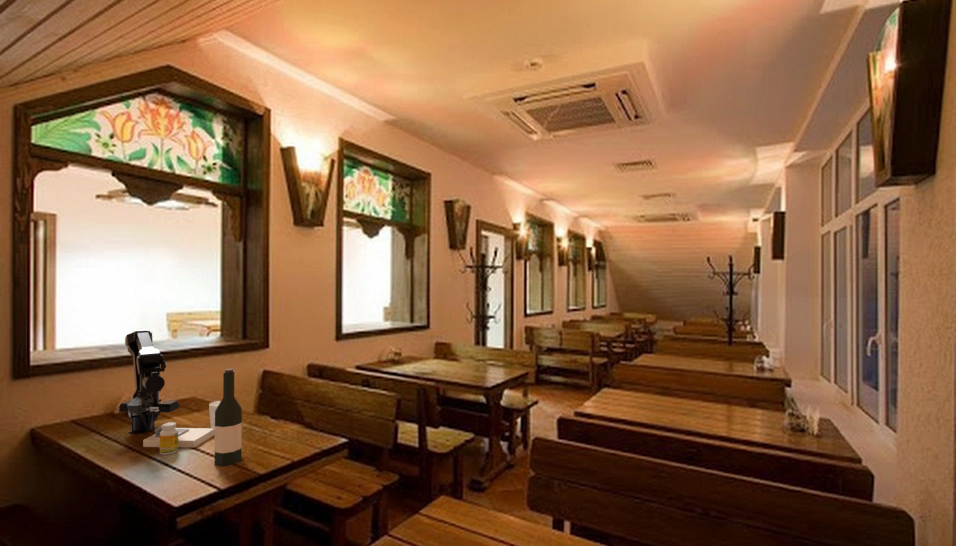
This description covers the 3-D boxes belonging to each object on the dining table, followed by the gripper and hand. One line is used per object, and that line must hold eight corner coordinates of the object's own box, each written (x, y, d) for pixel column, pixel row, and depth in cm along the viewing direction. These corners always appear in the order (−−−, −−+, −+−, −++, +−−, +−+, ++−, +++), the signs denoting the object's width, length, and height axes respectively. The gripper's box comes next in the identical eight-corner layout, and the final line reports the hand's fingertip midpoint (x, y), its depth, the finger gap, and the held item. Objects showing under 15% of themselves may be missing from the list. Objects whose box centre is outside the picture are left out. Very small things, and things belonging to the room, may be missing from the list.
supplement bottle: (160, 450, 164) (161, 422, 164) (179, 448, 166) (179, 420, 166) (158, 456, 159) (158, 427, 159) (177, 453, 162) (177, 425, 162)
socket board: (143, 446, 167) (143, 439, 167) (167, 434, 180) (167, 427, 180) (194, 447, 167) (194, 440, 167) (214, 434, 180) (215, 428, 180)
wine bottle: (220, 456, 159) (221, 366, 159) (246, 456, 160) (247, 366, 160) (208, 466, 151) (209, 372, 151) (236, 466, 152) (236, 372, 152)
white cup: (236, 425, 191) (236, 400, 191) (223, 432, 183) (223, 406, 183) (217, 424, 192) (217, 399, 192) (204, 431, 184) (204, 405, 184)
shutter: (155, 437, 170) (155, 428, 170) (168, 430, 178) (168, 422, 178) (175, 437, 170) (176, 428, 170) (188, 430, 178) (188, 422, 178)
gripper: (106, 392, 166) (106, 437, 166) (160, 392, 166) (159, 437, 166) (130, 384, 177) (130, 426, 177) (180, 385, 177) (180, 427, 177)
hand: (149, 429), depth 174 cm, fingers closed
